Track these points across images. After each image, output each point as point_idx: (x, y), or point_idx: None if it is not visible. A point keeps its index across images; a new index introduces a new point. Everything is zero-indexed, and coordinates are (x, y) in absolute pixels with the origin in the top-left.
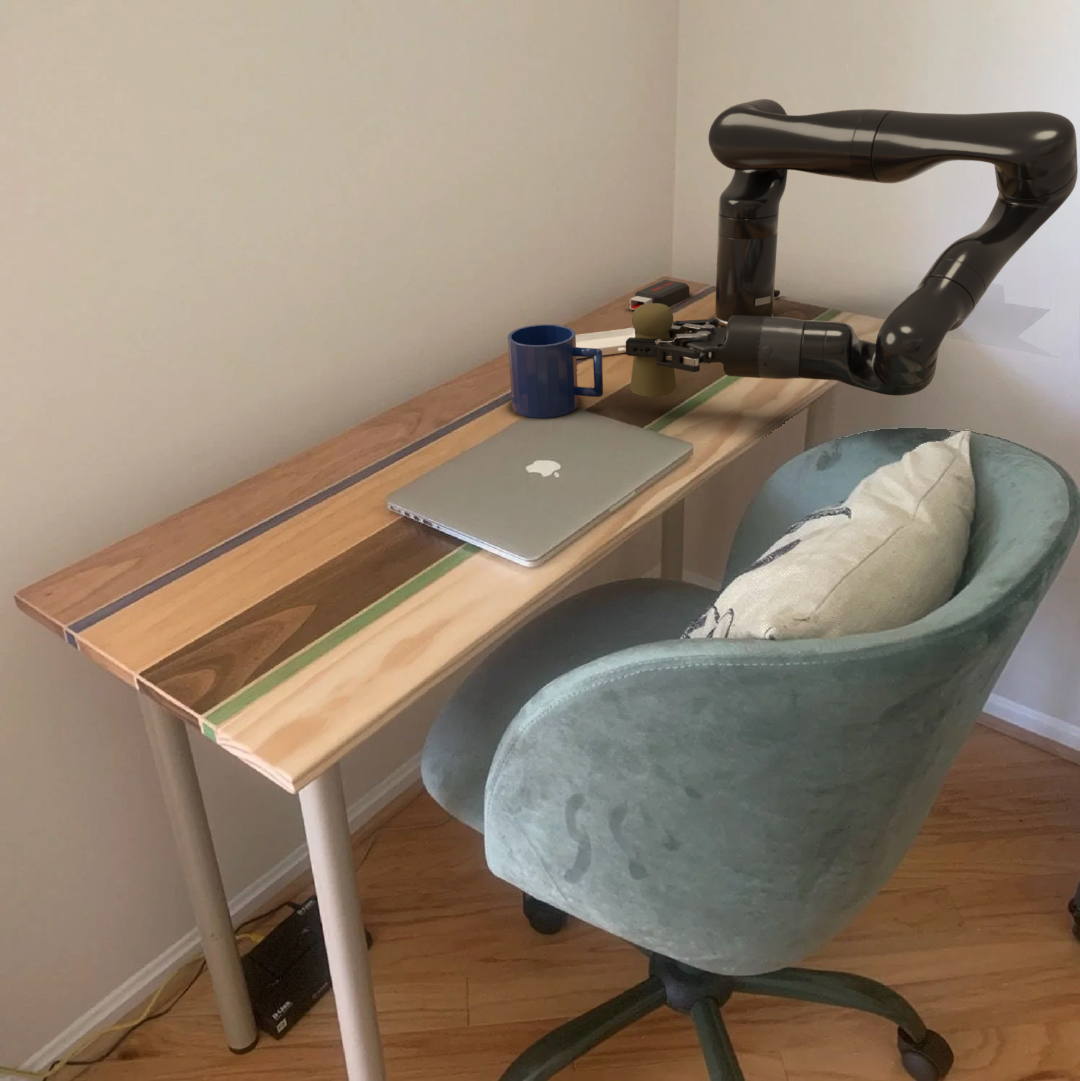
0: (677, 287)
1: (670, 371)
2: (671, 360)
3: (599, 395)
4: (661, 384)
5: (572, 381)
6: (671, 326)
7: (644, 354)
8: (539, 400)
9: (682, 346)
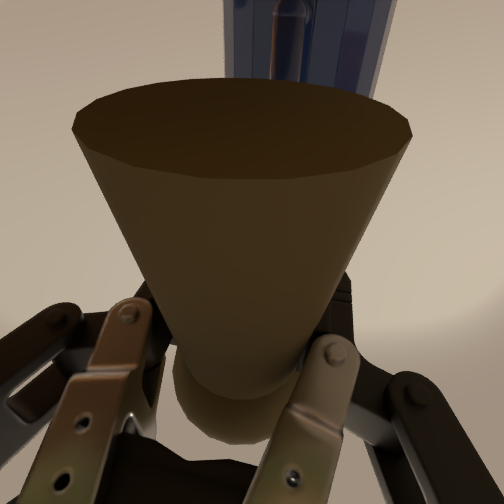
0: None
1: (258, 308)
2: (414, 465)
3: (303, 8)
4: (349, 235)
5: (314, 60)
6: (225, 423)
7: (352, 319)
8: (392, 18)
9: (134, 395)
